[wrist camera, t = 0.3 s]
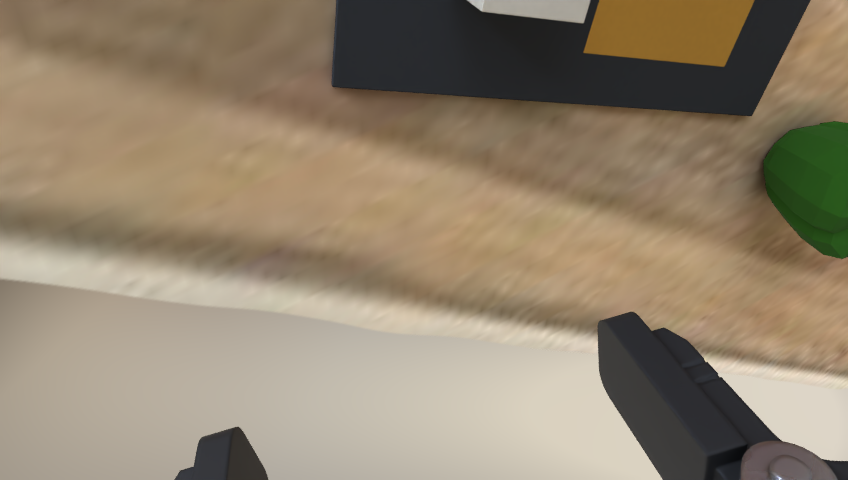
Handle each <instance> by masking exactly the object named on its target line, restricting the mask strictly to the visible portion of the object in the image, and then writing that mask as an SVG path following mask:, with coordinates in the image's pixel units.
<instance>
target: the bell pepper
mask: <svg viewBox="0 0 848 480" xmlns="http://www.w3.org/2000/svg"><path fill="white" fill-rule="evenodd" d="M764 177H765V181H766V184H765V185H766V190H767V194H768V196H769V198H770V199H771V201H772V203H773V204H774V206H775V207H776V208H777V210H778V211H779V212H780V213H781V215H782V216H783V217H784V219H785V220H786V221H787V222H788V223H789V224H790V226H791V227H792V228H793V229H794V230H795V231H796V232H797V234H798V235H799V236H800V237H801V238H802V239H803V240H805V241H806V242H807V243H809V244H810V245H811V246H813V247H814V248H815V249H817V250H818V251H819V252H821V253H822V254H823V255H828V256H832V257H836V258H841V259H843V258H846V257H848V123H843V122H836V121H833V122H827V123H821V124H819V125H815V126H808V127H803V128H798V129H794V130H790V131H789V132H788V133H786V134H785V135H784V136H783V137H782V138H781V139H780V140H778V141H777V142H776V143H775V144H774V145H773V147H772V149H771V150H770V152H769V153H768V155H767V156H766V158H765V159H764Z"/></svg>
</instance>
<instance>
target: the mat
mask: <svg viewBox="0 0 848 480" xmlns="http://www.w3.org/2000/svg"><path fill="white" fill-rule="evenodd" d="M809 2H810V0H590V4H589V7H588V10H587V14H586V17H585V20H584V23H574V22H566V21H557V20H549V19H540V18H532V17H523V16H514V15H506V14H497V13H489V12H482V11H480V10H479V9H478V8H476V7H475V6H474V5H472V4H471V3H470V2H468V1H467V0H337V2H336V18H335V35H334V51H333V68H332V86H333V87H340V88H354V89H368V90H383V91H397V92H412V93H426V94H441V95H455V96H469V97H484V98H498V99H513V100H527V101H541V102H556V103H570V104H585V105H599V106H614V107H628V108H642V109H657V110H671V111H686V112H700V113H715V114H729V115H743V116H752V114H753V113H754V111H755V109H756V107H757V105H758V103H759V101H760V99H761V97H762V95H763V93H764V91H765V89H766V87H767V85H768V83H769V81H770V79H771V77H772V75H773V73H774V71H775V69H776V67H777V65H778V63H779V61H780V59H781V57H782V55H783V53H784V52H785V50H786V48H787V46H788V44H789V42H790V40H791V38H792V36H793V34H794V32H795V30H796V28H797V26H798V24H799V22H800V20H801V18H802V16H803V14H804V12H805V10H806V8H807V6H808V4H809Z"/></svg>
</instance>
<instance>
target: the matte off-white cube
mask: <svg viewBox="0 0 848 480" xmlns="http://www.w3.org/2000/svg"><path fill="white" fill-rule="evenodd" d="M467 1H468V2H470V3H471V4H472V5H474V6H475V7H476V8H478V9H479V10H480V11H482V12H489V13H497V14H506V15H514V16H523V17H532V18H540V19H549V20H557V21H566V22H574V23H584V20H585V17H586V14H587V10H588V7H589V4H590V0H467Z"/></svg>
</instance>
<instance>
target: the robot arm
mask: <svg viewBox="0 0 848 480" xmlns="http://www.w3.org/2000/svg"><path fill="white" fill-rule="evenodd" d="M598 354H599V372H600V376H601V380H602V383H603V386H604V388H605V390H606V392H607V394H608V396H609V398H610V399H611V400H612V402H613V404H614V405H615V407H616V408H617V410H618V411H619V413H620V414H621V416H622V418H623V419H624V421H625V422H626V424H627V425H628V427H629V428H630V430H631V431H632V433H633V434H634V436H635V437H636V439H637V441H638V442H639V443H640V445H641V447H642V448H643V450H644V451H645V453H646V454H647V456H648V457H649V459H650V460H651V462H652V464H653V465H654V467H655V468H656V470H657V471H658V473H659V474H660V476H661V477H662V479H663V480H848V461H830V460H824V459H821V458H819V457H818V456H817V455H815V454H814V453H812V452H810V451H809V450H807V449H805V448H803V447H800V446H798V445H795V444H791V443H788V442H783V441H781V440H780V439H779V438H778V437H777V436H776V435H774V433H772V432H771V430H770V429H769V428H768V427H767V426H766V425H765V424H764V423H763V422H762V421H761V420H760V419H759V417H758V416H756V414H755V413H754V412H753V411H752V410H751V409H750V408H749V407H748V406H747V405H746V403H744V401H743V400H742V399H741V398H740V397H739V396H738V395H737V394H736V393H735V392H734V390H733V389H732V388H731V387H730V386H729V385H728V384H727V383H726V382H725V381H724V380H723V378H722V377H719V376H718V373H717V372H716V371H715V370H714V369H713V368H712V367H711V365H710V364H709V363H708V362H705V360H704V358H703V357H702V356H701V355H700V354H699V352H698V351H697V350H696V349H695V348H694V347H693V346H692V345H691V344H690V343H689V342H688V341H687V340H686V339H684V338H682V337H680V336H678V335H677V334H675V333H673V332H671V331H669V330H668V329H666V328H661V329H657V330H654V331H651V330H650V329H649V327H648V326H647V325H646V324H645V323H644V322H643V320H642V319H641V318H640V317H639V316H638V315H637V314H636V313H634V312H628V313H625V314H621V315H618V316H615V317H611V318H608V319H605V320H601V321H599V323H598ZM175 480H268V477H267V474H266V471H265V469H264V467H263V465H262V463H261V462H260V460H259V458H258V456H257V455H256V453H255V451H254V450H253V448H252V446H251V444H250V443H249V441H248V439H247V438H246V436H245V434H244V433H243V431H242V430H241V429H240V428H239V427H235V428H231V429H228V430H224V431H221V432H218V433H214V434H211V435H208V436H204V437H202V438H201V439H200V440H199V443H198V447H197V452H196V457H195V463H194V467H191V468H187V469H184V470H181V471H180V472H179V473H178V475H177V477H176V478H175Z"/></svg>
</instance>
